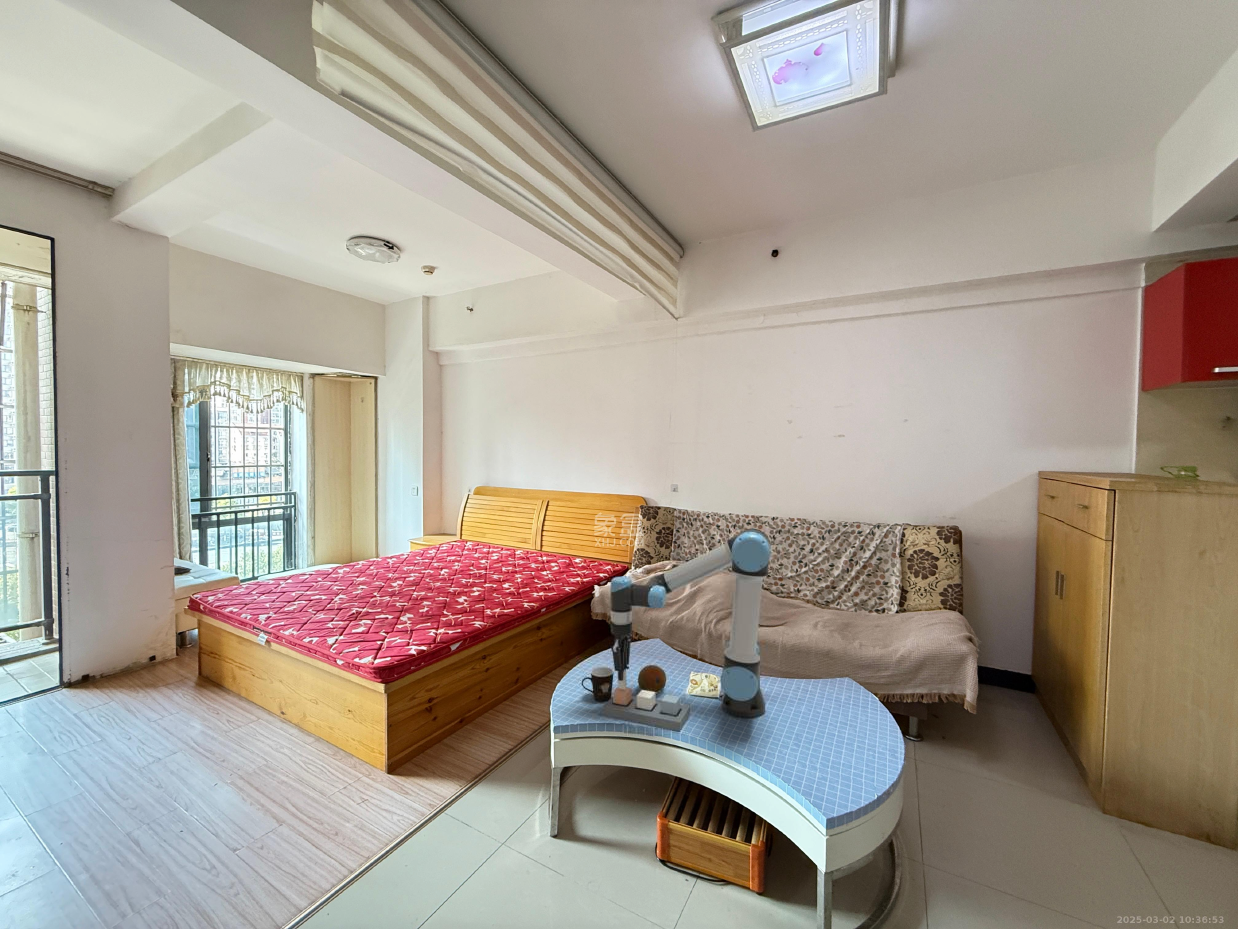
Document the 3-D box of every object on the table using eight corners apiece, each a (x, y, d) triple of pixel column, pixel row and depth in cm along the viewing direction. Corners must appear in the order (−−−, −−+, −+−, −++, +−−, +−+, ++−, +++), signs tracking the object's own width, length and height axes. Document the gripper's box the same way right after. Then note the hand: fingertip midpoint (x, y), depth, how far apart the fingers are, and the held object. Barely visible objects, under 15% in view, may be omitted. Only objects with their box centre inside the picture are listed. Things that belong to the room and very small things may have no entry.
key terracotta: (631, 699, 180) (631, 688, 180) (626, 705, 175) (626, 693, 175) (619, 696, 182) (618, 685, 182) (613, 702, 177) (613, 691, 177)
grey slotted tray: (690, 714, 175) (690, 706, 175) (680, 731, 164) (680, 722, 164) (616, 700, 186) (616, 692, 186) (602, 715, 175) (602, 706, 175)
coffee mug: (615, 693, 192) (614, 667, 192) (612, 704, 183) (612, 676, 183) (585, 692, 193) (584, 666, 193) (581, 703, 184) (580, 675, 184)
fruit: (644, 701, 185) (644, 674, 185) (630, 687, 197) (629, 662, 197) (672, 694, 190) (672, 668, 190) (656, 681, 201) (656, 656, 201)
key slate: (680, 708, 172) (680, 696, 172) (675, 715, 168) (675, 703, 168) (666, 705, 174) (666, 694, 174) (661, 712, 170) (661, 700, 170)
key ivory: (655, 703, 176) (655, 692, 176) (650, 710, 171) (650, 698, 171) (642, 701, 178) (642, 689, 178) (636, 707, 174) (636, 695, 174)
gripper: (619, 615, 186) (619, 679, 186) (603, 625, 174) (604, 694, 174) (638, 617, 183) (638, 682, 183) (623, 628, 171) (624, 698, 171)
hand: (622, 688), depth 178 cm, fingers closed
